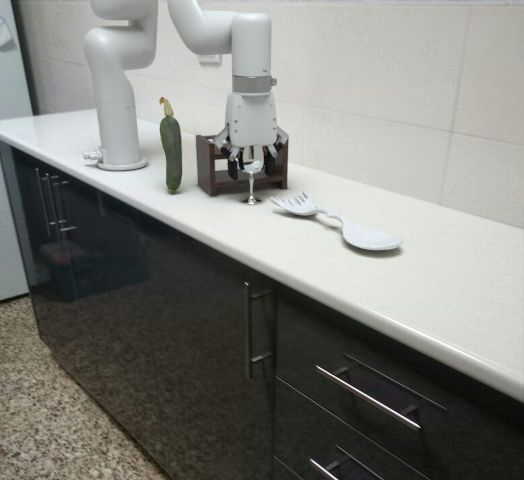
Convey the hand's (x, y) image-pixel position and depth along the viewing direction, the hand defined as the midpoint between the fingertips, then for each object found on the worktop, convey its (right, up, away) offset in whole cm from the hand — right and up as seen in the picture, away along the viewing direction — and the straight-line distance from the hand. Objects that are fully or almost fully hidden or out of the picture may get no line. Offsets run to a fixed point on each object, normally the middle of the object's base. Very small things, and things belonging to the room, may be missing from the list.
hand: (251, 176), depth 122 cm
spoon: (+16, -14, -13) cm, 25 cm away
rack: (-2, +1, +12) cm, 12 cm away
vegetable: (-17, -2, +7) cm, 19 cm away
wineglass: (0, -5, +3) cm, 5 cm away
